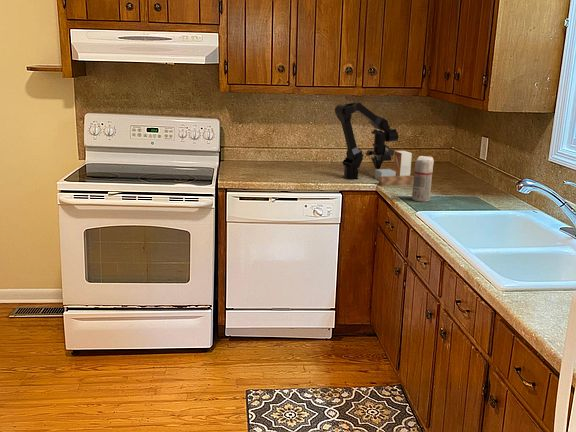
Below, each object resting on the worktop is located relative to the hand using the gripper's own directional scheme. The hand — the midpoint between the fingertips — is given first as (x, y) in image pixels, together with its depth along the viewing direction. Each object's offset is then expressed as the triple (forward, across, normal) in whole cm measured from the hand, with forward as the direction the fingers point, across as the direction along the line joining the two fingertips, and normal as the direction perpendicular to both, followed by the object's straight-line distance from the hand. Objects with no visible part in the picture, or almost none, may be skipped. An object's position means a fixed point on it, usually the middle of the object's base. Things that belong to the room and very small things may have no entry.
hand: (377, 171), depth 333 cm
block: (+3, -9, 0) cm, 9 cm away
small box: (+3, -1, -14) cm, 14 cm away
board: (+3, -22, 0) cm, 22 cm away
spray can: (+3, -55, +5) cm, 55 cm away
